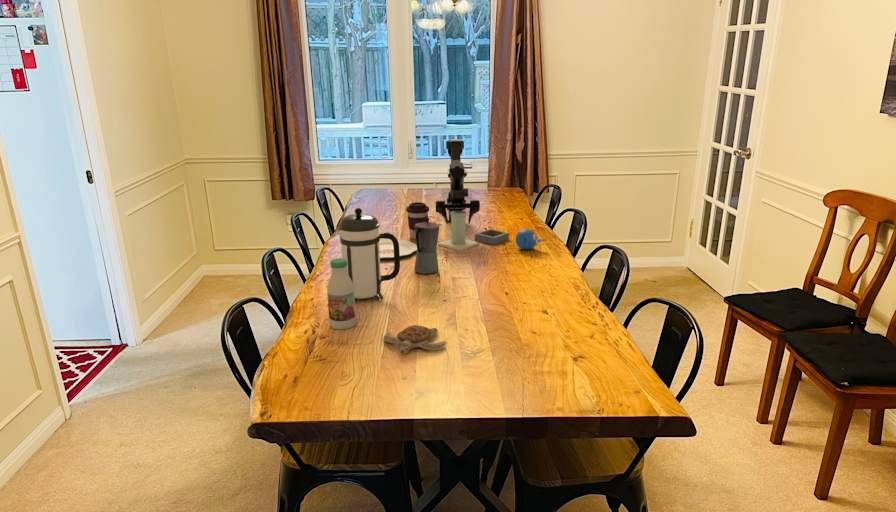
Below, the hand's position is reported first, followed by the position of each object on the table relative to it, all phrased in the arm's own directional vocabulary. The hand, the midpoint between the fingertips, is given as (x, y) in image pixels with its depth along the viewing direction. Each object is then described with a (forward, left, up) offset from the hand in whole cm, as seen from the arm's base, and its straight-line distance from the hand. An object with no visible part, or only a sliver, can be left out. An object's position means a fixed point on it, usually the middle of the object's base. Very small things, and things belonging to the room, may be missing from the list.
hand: (458, 223), depth 243 cm
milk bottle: (+28, -82, -9) cm, 88 cm away
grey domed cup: (+2, -2, -8) cm, 8 cm away
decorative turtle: (+52, -76, -9) cm, 93 cm away
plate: (-15, -27, -9) cm, 32 cm away
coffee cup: (-20, -4, -9) cm, 22 cm away
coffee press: (+16, -63, -9) cm, 66 cm away
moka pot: (+14, -33, -9) cm, 37 cm away
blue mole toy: (+27, +14, -9) cm, 32 cm away
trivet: (+1, -1, -9) cm, 9 cm away
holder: (+7, +14, -9) cm, 18 cm away
